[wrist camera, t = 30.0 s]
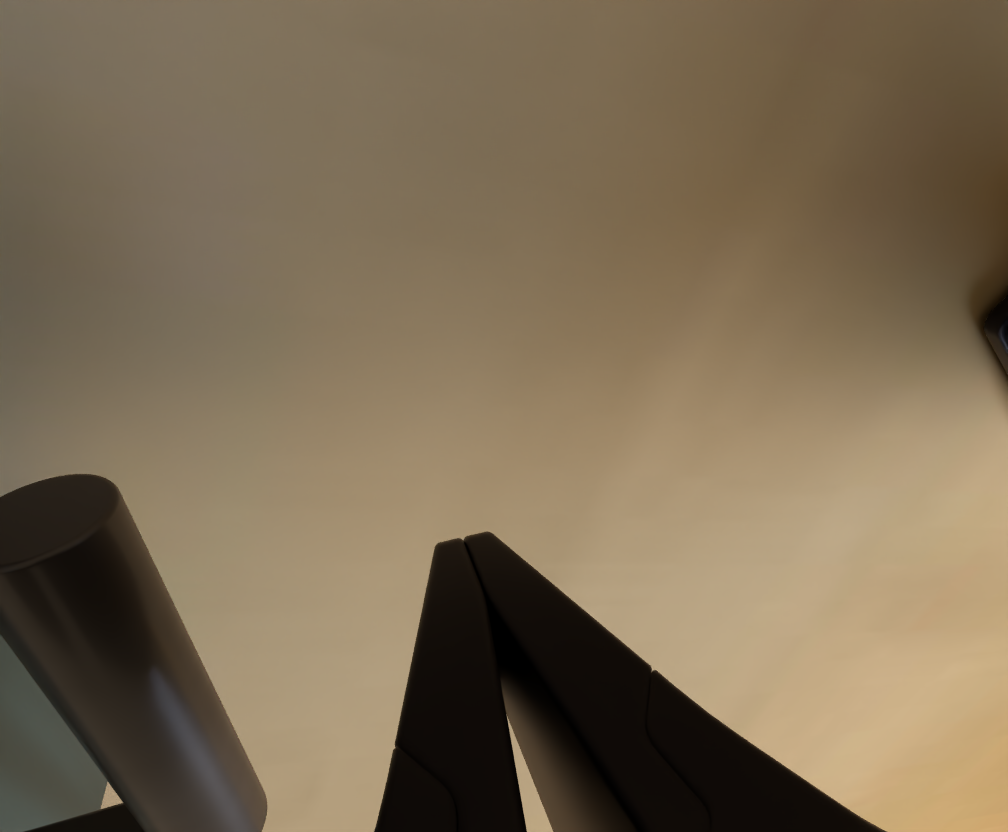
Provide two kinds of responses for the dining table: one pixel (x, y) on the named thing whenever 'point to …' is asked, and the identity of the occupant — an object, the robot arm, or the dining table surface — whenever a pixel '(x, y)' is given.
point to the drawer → (105, 680)
